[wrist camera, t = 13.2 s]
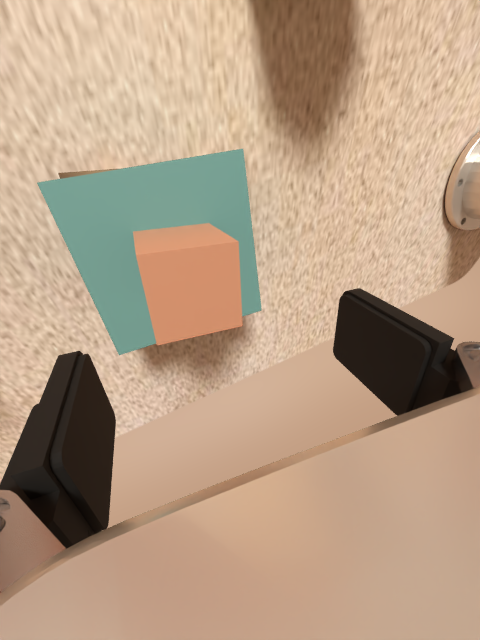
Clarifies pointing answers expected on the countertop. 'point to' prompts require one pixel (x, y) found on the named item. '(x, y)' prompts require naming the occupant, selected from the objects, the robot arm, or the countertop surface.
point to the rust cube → (189, 280)
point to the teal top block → (145, 214)
